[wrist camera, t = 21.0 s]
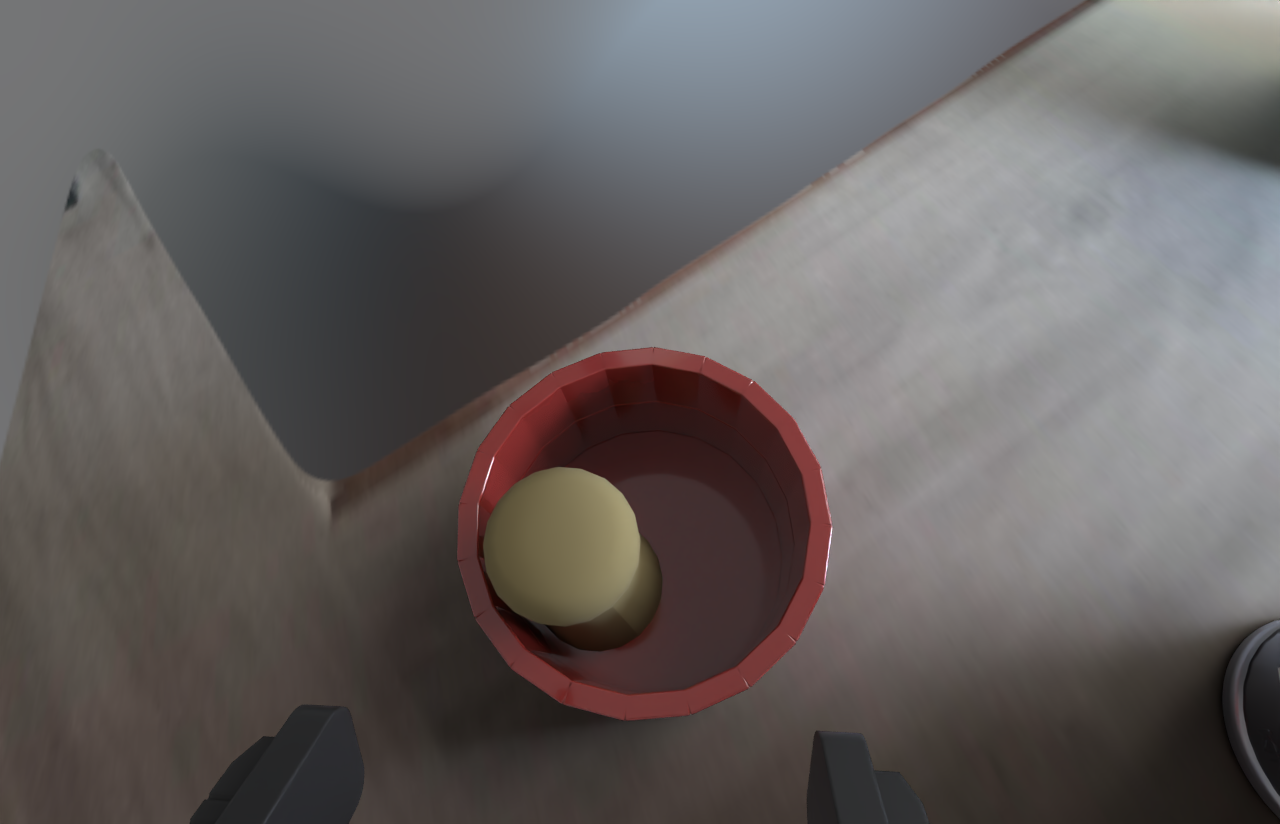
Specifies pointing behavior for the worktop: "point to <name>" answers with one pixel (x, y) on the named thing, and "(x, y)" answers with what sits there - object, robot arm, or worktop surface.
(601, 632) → the cork
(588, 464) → the pot
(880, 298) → the worktop surface
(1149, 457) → the worktop surface
